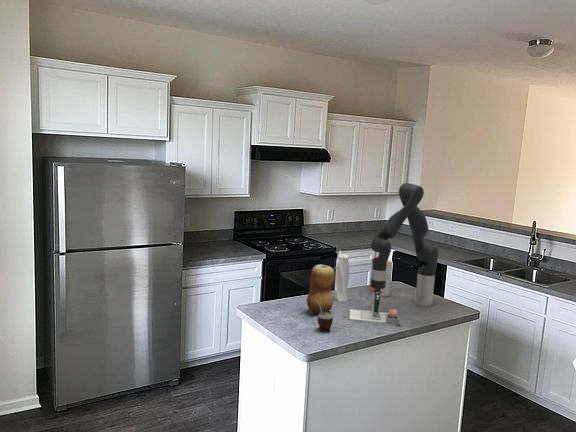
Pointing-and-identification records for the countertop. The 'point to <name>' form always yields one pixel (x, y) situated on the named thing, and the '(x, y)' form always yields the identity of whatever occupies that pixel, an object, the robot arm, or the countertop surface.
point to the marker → (373, 309)
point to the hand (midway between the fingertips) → (375, 310)
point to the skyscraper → (342, 277)
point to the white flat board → (372, 317)
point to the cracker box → (386, 290)
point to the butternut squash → (321, 289)
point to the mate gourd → (324, 320)
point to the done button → (393, 313)
